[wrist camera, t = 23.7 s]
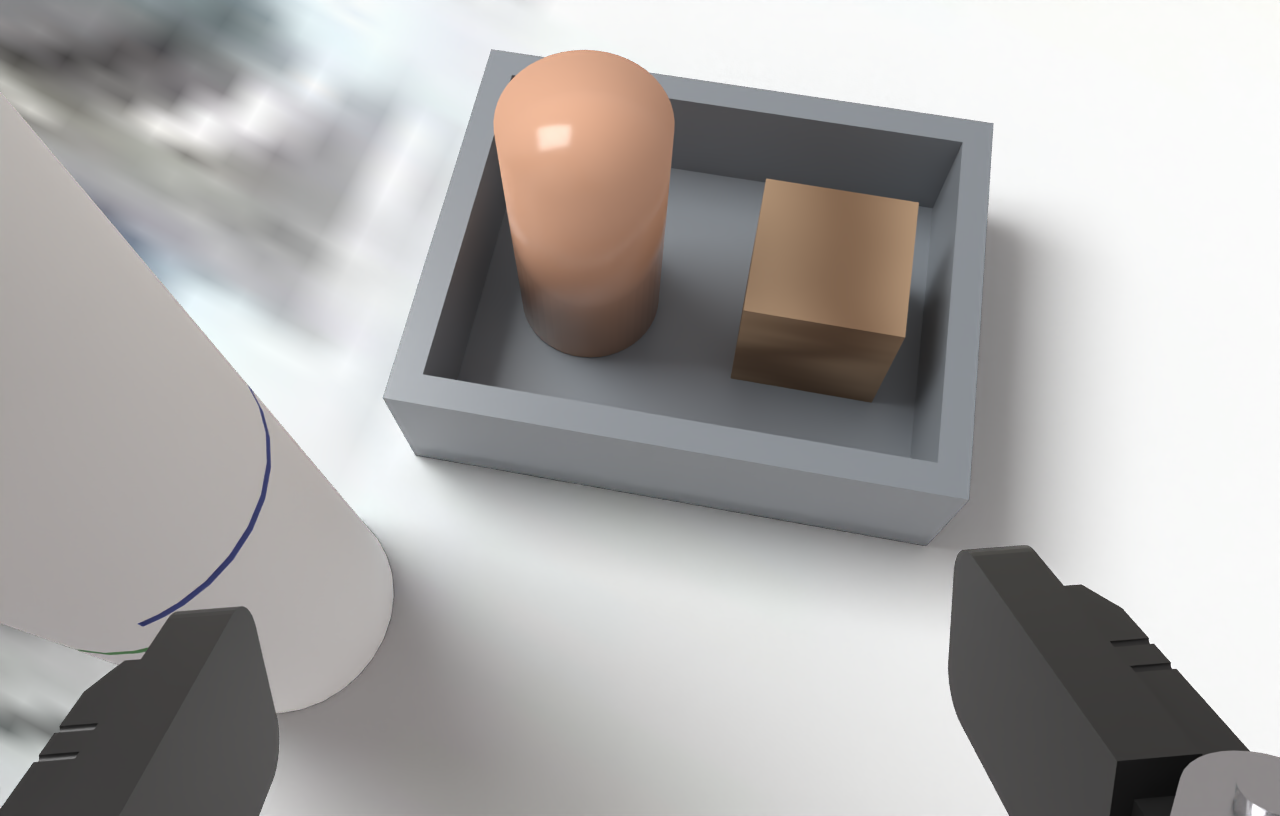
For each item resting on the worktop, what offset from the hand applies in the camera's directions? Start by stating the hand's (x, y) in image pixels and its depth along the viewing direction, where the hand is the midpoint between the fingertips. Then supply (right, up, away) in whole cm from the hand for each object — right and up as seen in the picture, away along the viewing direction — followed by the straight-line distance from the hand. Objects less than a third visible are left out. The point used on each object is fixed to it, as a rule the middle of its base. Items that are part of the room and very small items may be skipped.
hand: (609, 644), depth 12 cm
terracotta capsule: (-1, +7, +26) cm, 27 cm away
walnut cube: (+7, +6, +26) cm, 27 cm away
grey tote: (+3, +6, +27) cm, 27 cm away
